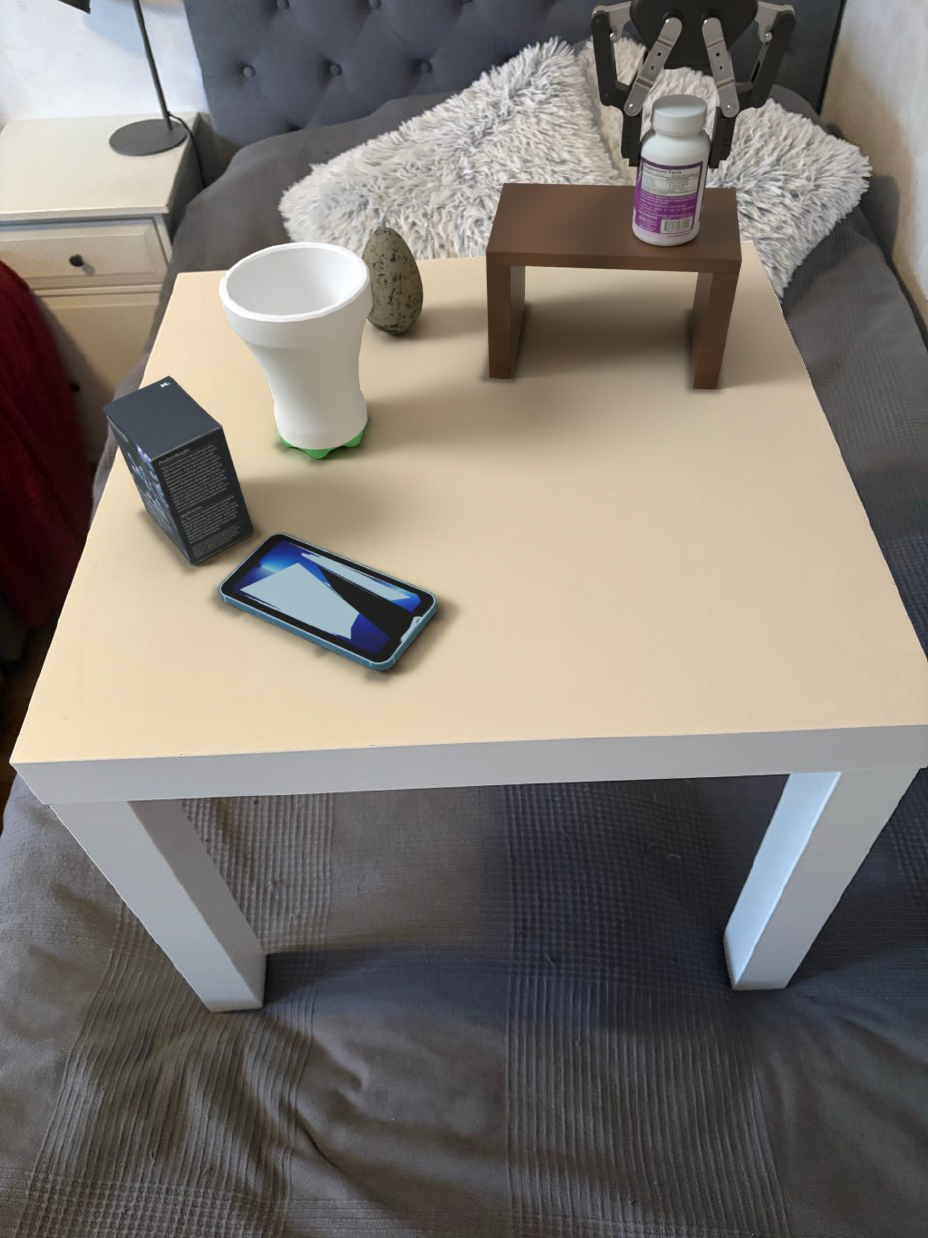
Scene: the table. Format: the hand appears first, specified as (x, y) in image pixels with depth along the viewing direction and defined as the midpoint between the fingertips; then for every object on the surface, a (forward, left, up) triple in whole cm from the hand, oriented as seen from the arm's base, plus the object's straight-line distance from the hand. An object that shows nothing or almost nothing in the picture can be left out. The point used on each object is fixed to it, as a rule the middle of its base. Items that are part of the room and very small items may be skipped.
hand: (673, 162), depth 70 cm
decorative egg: (+24, -3, -18) cm, 30 cm away
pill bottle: (0, 0, -6) cm, 6 cm away
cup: (+27, +13, -18) cm, 35 cm away
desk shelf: (+4, -2, -17) cm, 18 cm away
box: (+34, +25, -18) cm, 46 cm away
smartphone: (+22, +32, -18) cm, 43 cm away
